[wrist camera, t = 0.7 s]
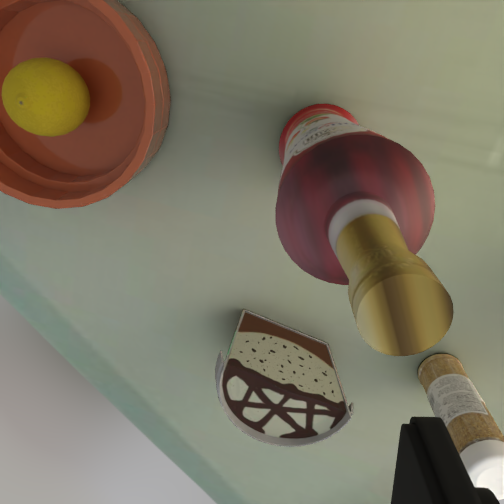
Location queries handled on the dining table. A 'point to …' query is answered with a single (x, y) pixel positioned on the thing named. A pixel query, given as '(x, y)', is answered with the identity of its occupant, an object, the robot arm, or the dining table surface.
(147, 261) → the dining table surface
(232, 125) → the dining table surface
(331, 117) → the liquor
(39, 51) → the fruit bowl
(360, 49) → the dining table surface
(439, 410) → the sprinkles bottle
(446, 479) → the robot arm
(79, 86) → the lemon
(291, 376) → the food container
